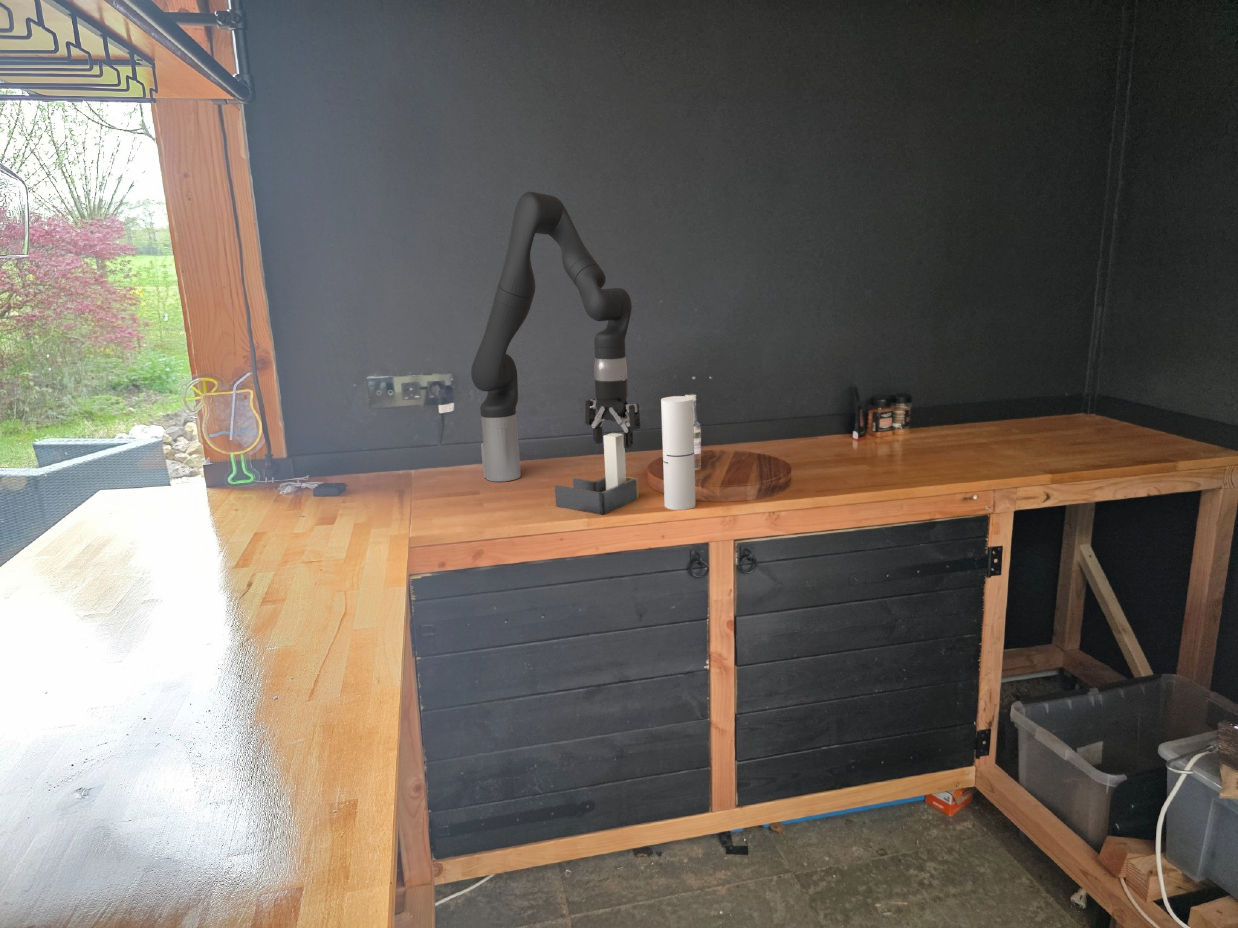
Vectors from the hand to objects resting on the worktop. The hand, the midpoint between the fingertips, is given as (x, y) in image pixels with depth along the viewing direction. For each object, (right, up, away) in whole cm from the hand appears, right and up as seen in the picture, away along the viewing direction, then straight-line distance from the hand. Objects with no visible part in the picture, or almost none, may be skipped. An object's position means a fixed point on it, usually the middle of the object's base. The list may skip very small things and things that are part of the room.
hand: (613, 445), depth 198 cm
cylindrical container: (+16, -14, -3) cm, 21 cm away
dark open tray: (-4, -14, +3) cm, 14 cm away
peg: (+1, -13, +4) cm, 14 cm away
